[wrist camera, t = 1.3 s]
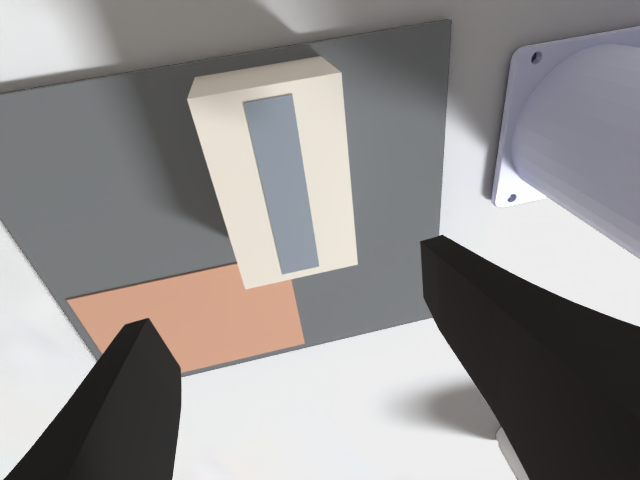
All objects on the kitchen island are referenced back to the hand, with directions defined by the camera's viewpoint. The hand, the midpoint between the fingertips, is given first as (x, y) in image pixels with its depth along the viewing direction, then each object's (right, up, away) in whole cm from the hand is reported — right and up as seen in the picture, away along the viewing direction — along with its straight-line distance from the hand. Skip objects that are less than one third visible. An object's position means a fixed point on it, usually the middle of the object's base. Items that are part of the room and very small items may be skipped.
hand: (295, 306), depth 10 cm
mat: (-3, +2, +10) cm, 10 cm away
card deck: (-1, +5, +7) cm, 9 cm away
